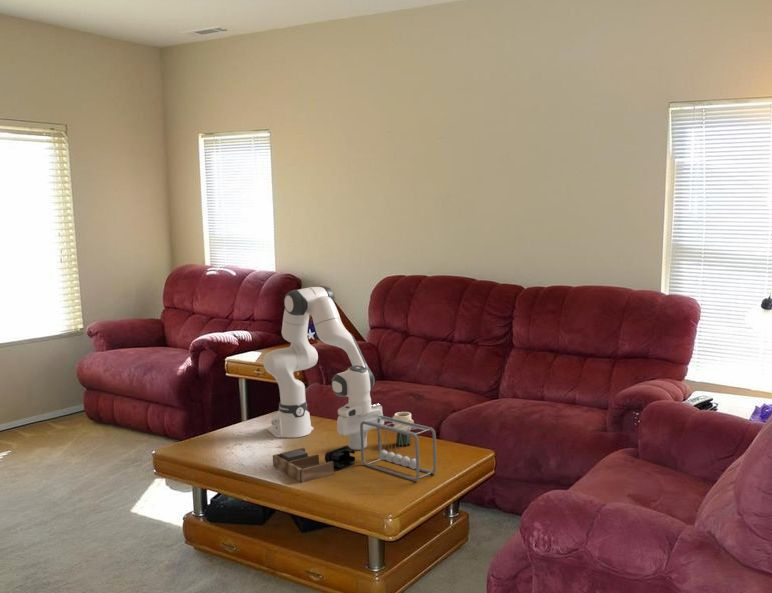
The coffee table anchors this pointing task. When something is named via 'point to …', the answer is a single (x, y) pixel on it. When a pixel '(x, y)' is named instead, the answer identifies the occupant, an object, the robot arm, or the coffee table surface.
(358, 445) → the can
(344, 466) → the end cap
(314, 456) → the walnut organizer
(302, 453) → the block
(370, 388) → the robot arm
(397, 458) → the newton's cradle
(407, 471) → the coffee table surface
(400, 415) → the character mug
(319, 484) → the coffee table surface
